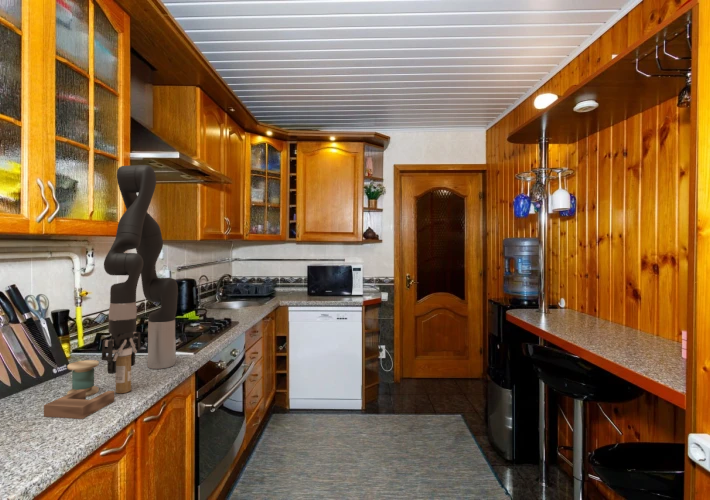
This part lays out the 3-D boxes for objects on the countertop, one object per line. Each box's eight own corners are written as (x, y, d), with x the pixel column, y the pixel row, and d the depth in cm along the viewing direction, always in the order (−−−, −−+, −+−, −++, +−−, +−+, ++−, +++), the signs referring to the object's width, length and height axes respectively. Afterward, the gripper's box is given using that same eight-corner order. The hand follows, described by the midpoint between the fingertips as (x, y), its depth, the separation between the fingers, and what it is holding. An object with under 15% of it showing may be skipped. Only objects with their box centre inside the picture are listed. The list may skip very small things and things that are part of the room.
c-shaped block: (79, 399, 119) (79, 389, 119) (114, 401, 118) (114, 391, 118) (43, 416, 107) (43, 405, 107) (82, 418, 106) (82, 407, 106)
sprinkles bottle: (134, 390, 127) (135, 347, 127) (120, 395, 123) (120, 350, 123) (125, 387, 129) (126, 345, 129) (111, 392, 125) (111, 348, 125)
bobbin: (81, 387, 129) (81, 359, 128) (104, 389, 128) (104, 360, 128) (60, 397, 121) (60, 366, 121) (85, 398, 120) (85, 368, 120)
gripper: (127, 313, 133) (126, 362, 133) (94, 320, 119) (93, 375, 119) (148, 314, 132) (147, 363, 132) (118, 321, 118) (116, 376, 118)
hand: (121, 369), depth 126 cm, fingers open, 8 cm apart
